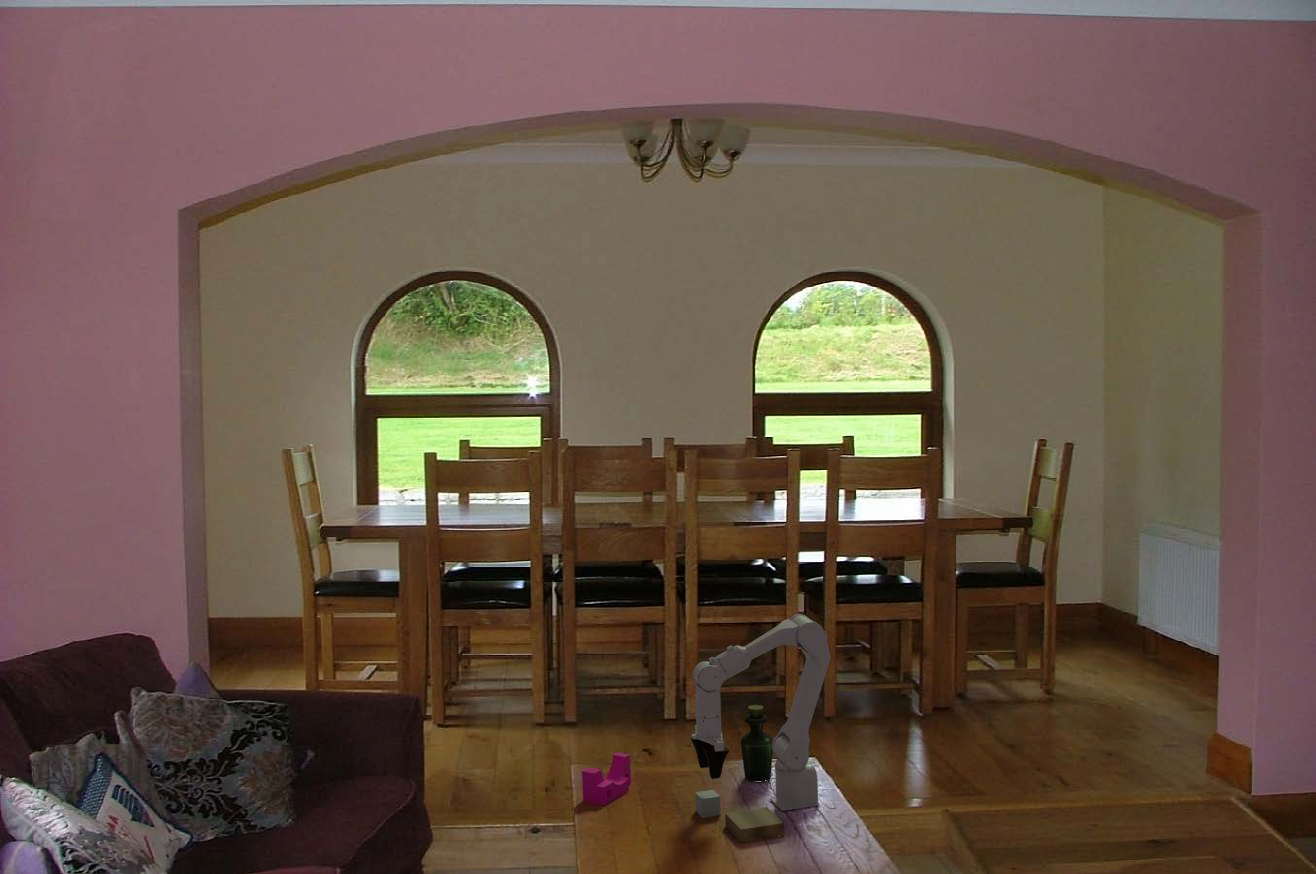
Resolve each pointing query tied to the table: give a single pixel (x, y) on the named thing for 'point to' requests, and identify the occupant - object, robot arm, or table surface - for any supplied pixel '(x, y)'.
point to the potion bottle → (756, 746)
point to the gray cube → (707, 803)
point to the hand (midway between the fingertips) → (710, 772)
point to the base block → (754, 824)
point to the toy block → (607, 781)
